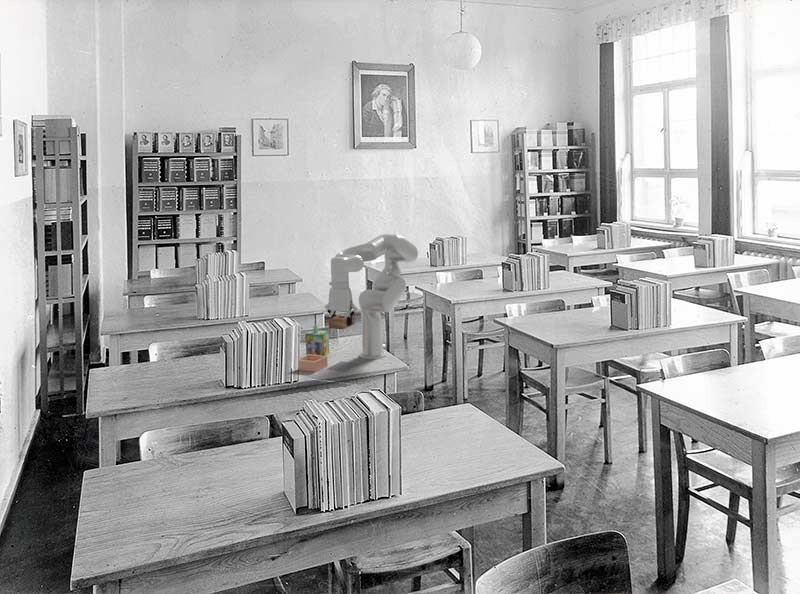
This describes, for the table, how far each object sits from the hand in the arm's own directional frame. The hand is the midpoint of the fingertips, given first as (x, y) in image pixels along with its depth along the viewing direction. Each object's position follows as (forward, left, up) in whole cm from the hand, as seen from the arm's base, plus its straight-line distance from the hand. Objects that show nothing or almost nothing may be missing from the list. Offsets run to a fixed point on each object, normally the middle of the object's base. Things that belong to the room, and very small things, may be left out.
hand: (341, 324), depth 324 cm
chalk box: (-13, -21, -20) cm, 32 cm away
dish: (+7, -12, -20) cm, 24 cm away
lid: (0, 0, -1) cm, 1 cm away
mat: (0, 0, -20) cm, 20 cm away
